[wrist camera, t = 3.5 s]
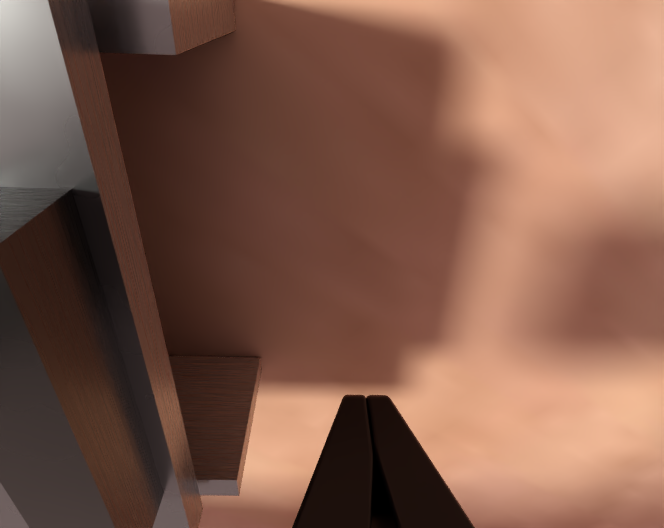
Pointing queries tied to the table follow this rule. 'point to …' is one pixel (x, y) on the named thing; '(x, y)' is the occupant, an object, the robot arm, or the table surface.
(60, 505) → the lid
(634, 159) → the table surface
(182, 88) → the table surface
